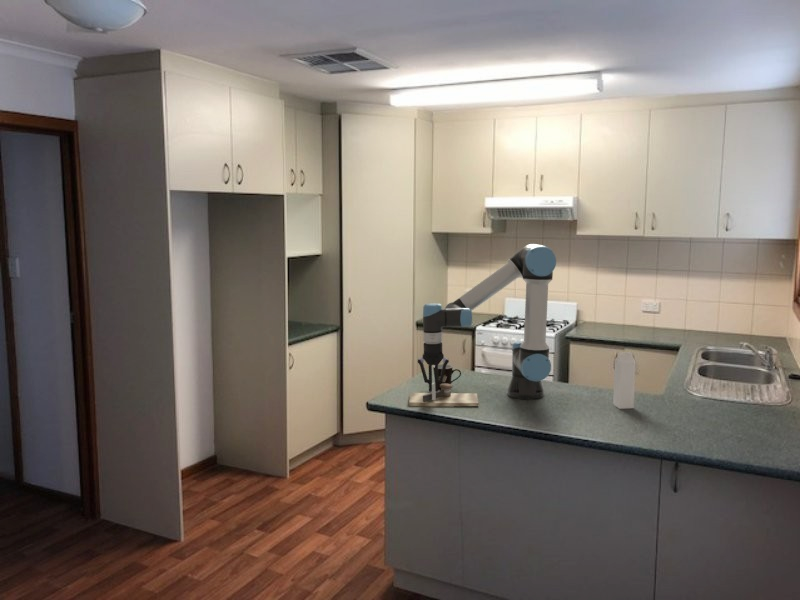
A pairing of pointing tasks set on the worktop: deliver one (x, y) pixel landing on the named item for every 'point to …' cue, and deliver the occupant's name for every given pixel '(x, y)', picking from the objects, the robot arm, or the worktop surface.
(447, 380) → the coffee mug
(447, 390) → the dark grey square rod
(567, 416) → the worktop surface
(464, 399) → the wooden board
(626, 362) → the milk
